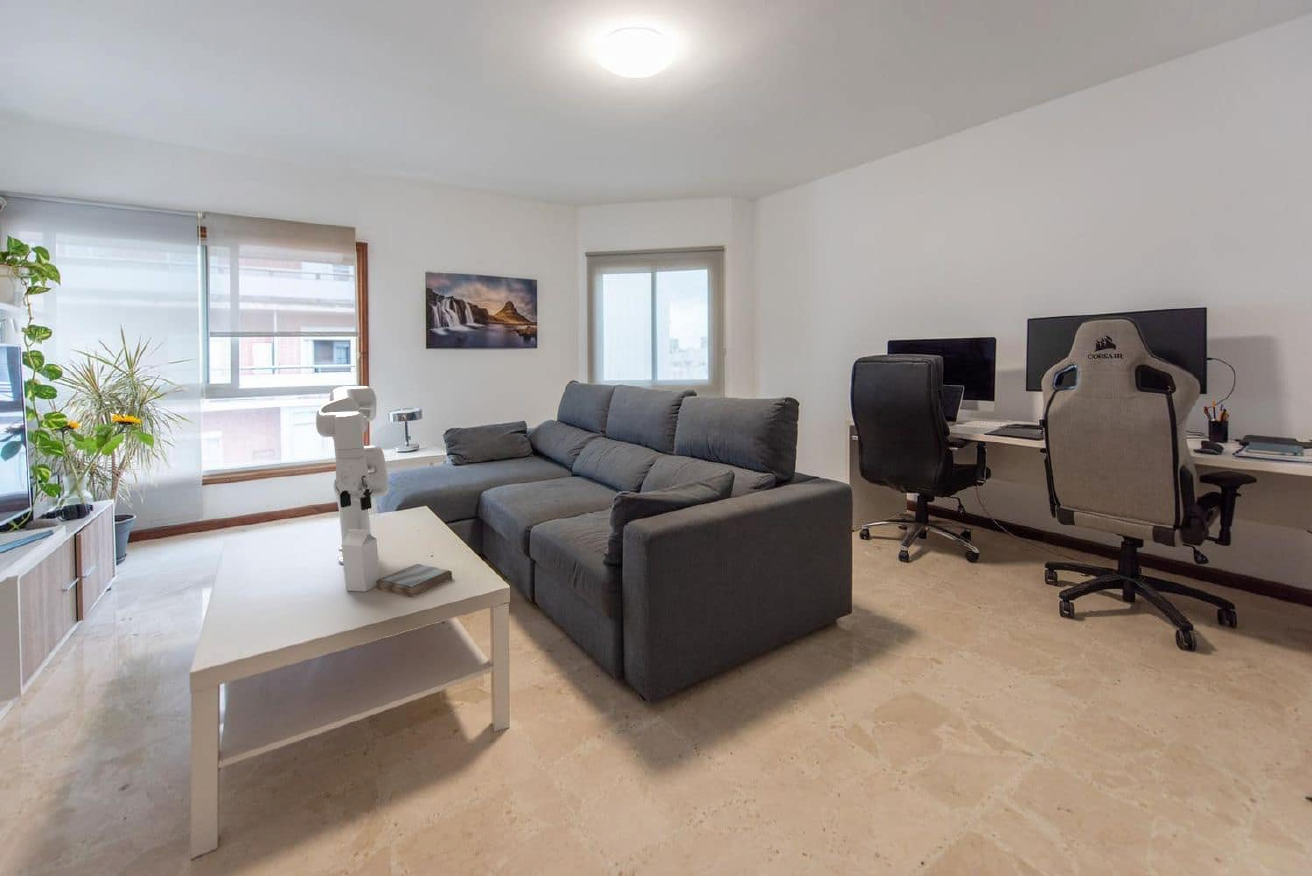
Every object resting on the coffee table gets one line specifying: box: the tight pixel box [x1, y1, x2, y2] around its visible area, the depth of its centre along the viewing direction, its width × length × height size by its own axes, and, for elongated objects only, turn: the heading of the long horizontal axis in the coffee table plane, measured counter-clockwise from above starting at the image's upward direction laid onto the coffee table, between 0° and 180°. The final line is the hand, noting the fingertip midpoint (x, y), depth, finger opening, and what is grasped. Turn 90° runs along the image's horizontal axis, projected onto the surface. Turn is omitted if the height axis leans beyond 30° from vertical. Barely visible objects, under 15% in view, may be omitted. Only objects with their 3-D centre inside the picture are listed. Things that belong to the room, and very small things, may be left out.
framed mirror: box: [376, 563, 453, 598], centre depth 184 cm, size 16×16×3 cm
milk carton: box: [341, 529, 381, 593], centre depth 180 cm, size 7×7×19 cm
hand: (356, 507), depth 178 cm, fingers open, 9 cm apart
